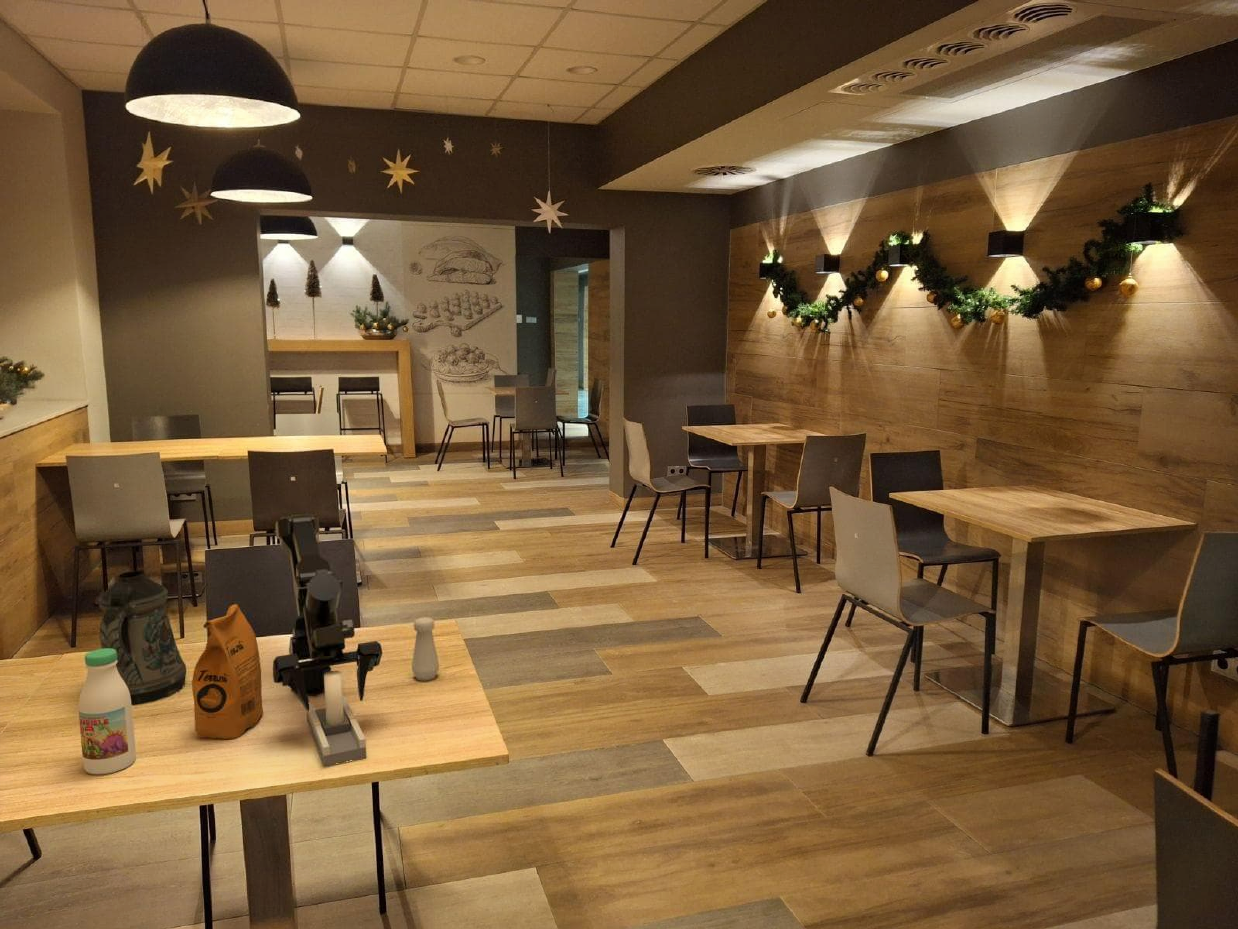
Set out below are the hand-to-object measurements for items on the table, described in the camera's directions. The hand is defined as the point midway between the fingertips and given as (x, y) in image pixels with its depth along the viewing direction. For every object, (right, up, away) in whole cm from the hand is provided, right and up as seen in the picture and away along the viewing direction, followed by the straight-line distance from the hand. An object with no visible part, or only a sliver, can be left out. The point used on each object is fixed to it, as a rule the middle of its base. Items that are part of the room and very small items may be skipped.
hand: (335, 704), depth 153 cm
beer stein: (-47, -4, +23) cm, 53 cm away
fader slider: (-1, -5, +2) cm, 5 cm away
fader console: (-1, -7, +3) cm, 7 cm away
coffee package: (-22, -6, +8) cm, 25 cm away
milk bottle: (-36, -8, -7) cm, 38 cm away
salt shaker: (+9, -3, +31) cm, 33 cm away
